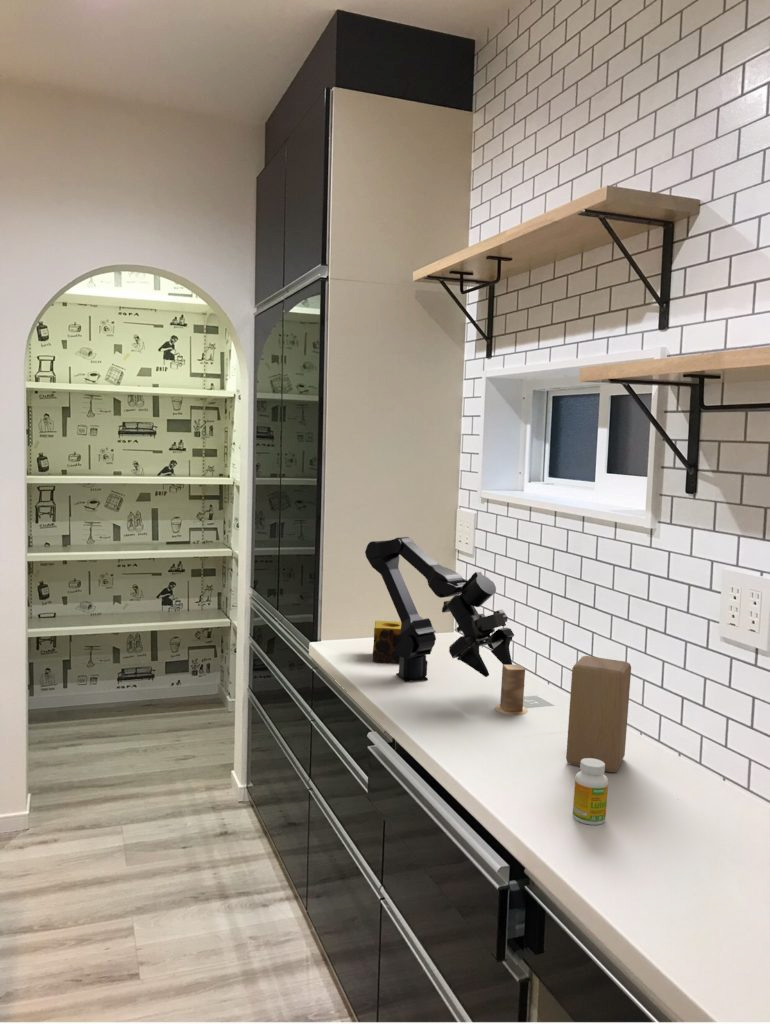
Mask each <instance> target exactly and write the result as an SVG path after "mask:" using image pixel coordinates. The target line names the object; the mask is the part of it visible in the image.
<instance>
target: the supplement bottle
mask: <svg viewBox="0 0 770 1024" xmlns="http://www.w3.org/2000/svg"><path fill="white" fill-rule="evenodd" d="M605 772H606V771H605V763H604V762H602V761H601V760H598V759H593V758H584V759H582V760H581V763H580V766H579V771H578V772H577V773H576V774H575V777H574V788H573V790H574V791H573V804H572V817H573V818H574V819H575V821H577V822H579V823H582V824H584V825H590V826H591V825H592V826H599V825H602V824H603V823H604V822H605V821H606V815H607V803H608V789H609V779H608V777H607V776H606V775H605Z"/></svg>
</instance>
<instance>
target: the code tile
mask: <svg viewBox="0 0 770 1024" xmlns="http://www.w3.org/2000/svg"><path fill="white" fill-rule="evenodd" d="M523 707H525V708H526V709H531V708H534V709H535V708H542V707H555V705H554V704H552V703H551V702H549V701H547V700H546V699H543V698H541V697H540V696H539V695H527V696H526V695H524V696H523Z"/></svg>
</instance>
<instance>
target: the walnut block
mask: <svg viewBox="0 0 770 1024" xmlns="http://www.w3.org/2000/svg"><path fill="white" fill-rule="evenodd" d="M501 673H502V674H501V686H500V687H501V690H500V704H499V705H500V706H501V708H502V709H503V710H504V711H505V712H523V697H524V696H525V695H524V694H525V692H524V691H525V678H526V669H525V668H524V667H523V666H522V665H521V664H512V665H503V664H502V670H501Z"/></svg>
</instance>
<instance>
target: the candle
mask: <svg viewBox="0 0 770 1024" xmlns="http://www.w3.org/2000/svg"><path fill="white" fill-rule="evenodd" d="M373 628H374V629H373V646H372V662H373V663H376V664H397V665H399V660H400V656H397V655H396V654H395V649H394V647H395V646H396V645H397V644H398V643H399V642H400V641H401V640H402V638H401V634H400V632H401V621H397V620H396V621H393V620H391V621H390V620H375V621H374V627H373Z"/></svg>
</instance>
